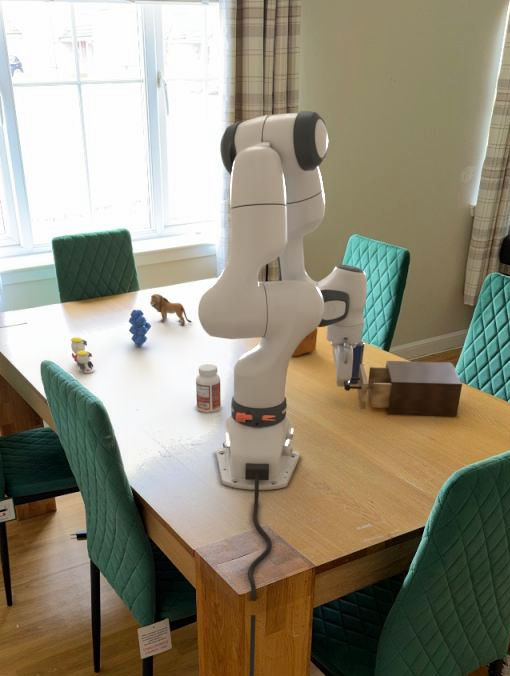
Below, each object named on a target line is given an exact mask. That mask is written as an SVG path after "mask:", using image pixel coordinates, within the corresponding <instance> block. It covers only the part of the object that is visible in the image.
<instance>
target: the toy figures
mask: <svg viewBox="0 0 510 676" xmlns="http://www.w3.org/2000/svg"><path fill="white" fill-rule="evenodd" d="M70 341H71V343H70V346H71V350H72V353H71V357H72V358H73V360H74V362H75V363H76V364H77V365H78V367H79V369H80V370H81V371H82V372H84V374H90V373H93V372H94V370H93V368H94V364H93V362H92V360H91V358H92V357H93V354H92V353H91V352H89V351H87V350H86V347H87V346H88V342H87V340H85V339H83V338H82V337H80V336H74V337H72V338H71V339H70Z"/></svg>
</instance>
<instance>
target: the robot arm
mask: <svg viewBox="0 0 510 676" xmlns="http://www.w3.org/2000/svg"><path fill="white" fill-rule="evenodd" d="M219 146H220V147H219V148H220V149H219V151H220V157H221V161H222V164H223V166H224V168H225V170H226V171H227V173H228V174H229V175H230V193H229V195H230V196H229V205H230V207H229V208H230V210H229V213H230V244H229V253H228V257H227V261H226V263H225V266H224V268H223V270H222V271H221V274H219V276H218V278H217V279H216V280H215V281H214V282H213V283H212V284H211V285H210V286H209V287H208V288H207V289H206V290H205V291H204V293H203V294H202V295H201V297H200V300H199V303H198V309H197V315H198V320H199V323H200V326H201V327H202V329H203V330H204V332H205V333H206V334H207V335H208V336H210V337H212V338H218V339H225V340H226V339H227V340H243V339H258V338H259V339H260V340H259V342H258V343H257V345H256V346H255V347H253V348H252V349H250V350H249V351H247V352H244V354H242V355H241V356H240V357H239V358H238V359H237V361H236V362H235V365H234V367H233V395H232V397H231V403H230V409H231V411H230V412H231V414H230V416H229V417H228V418H227V419H225V425H224V426H225V431H224V433H225V435H224V436H225V437H224V440H225V441H223V443H222V446H223V447H219V448H218V449H216V451H215V456H216V461H217V465H218V466H217V467H218V471H219V476H220V480H221V484H222V485H224V486H226V487H230V488H234V489H242V490H253V491H254V496H253V499H254V500H253V511H252V512H253V513H252V520H253V524H254V527H255V528H256V530H257V531H258V532H259V533H260V535H261V536H262V537H263V538H264V539H265V541H266V548H265V550H264V551H263V552H262V553H261V554H260V555H259V556H257V558H256V559H254V560H253V561H252V563H250V566H249V568H248V571H247V577H248V581H249V584H250V591H251V592H250V593H251V595H250V596H251V601H252V602H257V587H256V586H257V585H256V582H255V579H254V570H255V568H256V567H257V565H258V564H260V562H261V561H263V560H264V559H265V558H266V557H267V556H268V555H269V554H270V552H271V550H272V546H273V545H272V540H271V538H270V536H269V535H268V533H267V532H266V531H265V530H264V529H263V528H262V527H261V525H260V523H259V521H258V512H259V496H260V495H259V493H260V491H270V490H278V489H283V488H286V487H287V486H288V485H289V482H290V480H291V478H292V476H293V474H294V471H295V469H296V467H297V464H298V462H299V460H300V452H299V451H296V450H294V449H293V446H292V440H293V438H294V434H293V433H294V428H293V422H292V421H291V420H289V418H288V417H287V409H288V403H287V398H286V382H287V374H288V367H289V364H290V361H291V359H292V357H293V355H292V354H293V353H294V351H295V349H296V348H297V346H298V345H299V344H300V342H301V341H302V340H303V339H304V338H305V337H306V336H307V335H308V334H310V333H311V332H312V331H314V330H315V329H316V328H317V329H318V328H325V327H326V340H327V341H328V342H330V346H331V347H332V356H333V362H334V369H335V378H336V380H335V381H336V386H337V387H340V388H344V381H350V380H351V377H352V366H353V348H355V347H356V344H357V343H359V342H361V341H362V342H363V333H364V326H365V325H364V324H365V317H364V310H365V308H366V303H367V294H368V291H367V290H368V280H367V274H366V272H365V271H364V270H363V269H361V268H359V267H356V266H352V265H348V264H347V265H346V264H338V265H336V266H334V268H333V270H332V271H331V273H329V274H328V275H327V276H325V277H324V278H323V279H320V280H319V281H316V280H314V279H312V278H311V277H310V276H309V275H308V272H307V271H306V267H305V256H304V254H305V253H304V244H303V242H304V238H305V236H306V235H309V234H310V233H312V232H314V231H315V230H317V228H319V226H320V225H321V223H322V222H323V221H324V218H325V214H326V200H325V199H326V198H325V191H324V185H323V180H322V175H321V171H320V165H321V164H322V163H323V161H324V160H325V158H326V156H327V153H328V147H329V134H328V129H327V125H326V123H325V120H324V119H323V117H322V116H320V115H319V113H318V112H316V111H310V110H300V111H299V112H292V113H289V112H288V113H276V114H272V113H271V114H265V115H261V116H257V117H254V118H251V119H248V120H245V121H244V120H239V121H236V122H234V123H231V124H230V125H228V126H227V127H226V128H225V130H224V132H223V134H222V136H221V139H220V145H219ZM276 259H277V265H278V280H272V281H261V280H259V274H260V271H261V269H262V268H263V267H265V266H267V265H268V264H270V263H271V262H274V260H276ZM256 616H257V615H256V614H251V615H250V632H249V633H250V634H249V637H250V638H249V672H248V673H249V675H248V676H255V650H256V649H255V648H256V622H257V621H256V618H257V617H256Z"/></svg>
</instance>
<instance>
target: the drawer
mask: <svg viewBox="0 0 510 676" xmlns="http://www.w3.org/2000/svg"><path fill="white" fill-rule="evenodd" d="M367 375H368V376H367ZM351 380H358V383H357V385H351V384H350V381H344V386H343V388H344V391H346V392H349V391H350V390H357V395H358V401H359V407H360V410H366V409H367V399H368V398H369V404H370V408H384V409H385V408H386V409H387V408H389V400H390V392H391V380H390V376H389V373H388V369H387V367H386V366H369V372H368V374H367V371H366V366H365V364H363V363H362V364H360V368H359V377H351Z"/></svg>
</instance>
